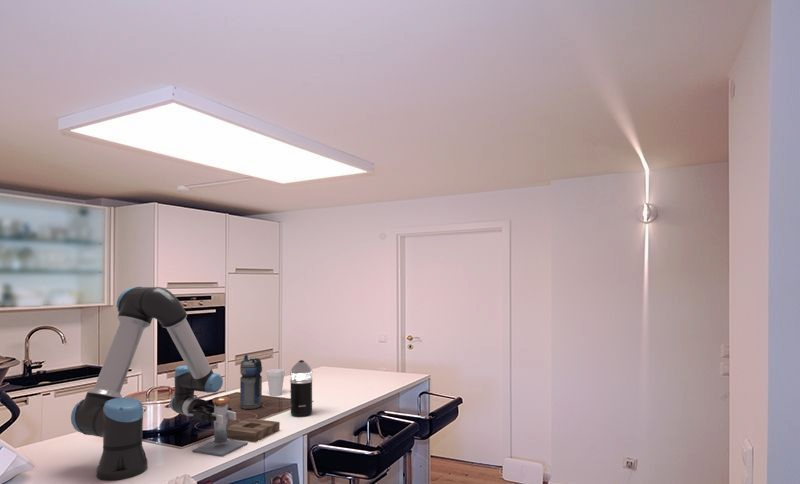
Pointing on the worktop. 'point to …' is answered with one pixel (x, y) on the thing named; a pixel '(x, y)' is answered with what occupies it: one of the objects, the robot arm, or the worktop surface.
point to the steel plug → (222, 409)
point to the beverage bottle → (250, 383)
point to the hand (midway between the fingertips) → (228, 418)
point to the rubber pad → (220, 447)
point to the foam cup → (275, 381)
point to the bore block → (252, 429)
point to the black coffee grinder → (301, 389)
